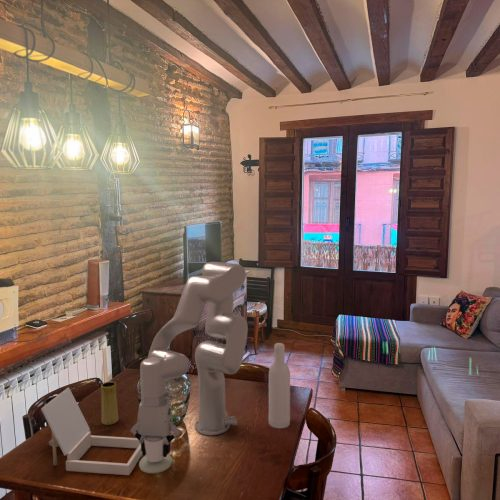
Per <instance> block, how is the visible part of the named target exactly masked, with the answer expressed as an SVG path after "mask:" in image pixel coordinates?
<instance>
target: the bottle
mask: <svg viewBox="0 0 500 500" xmlns="http://www.w3.org/2000/svg"><path fill="white" fill-rule="evenodd" d="M285 347H286V346H285V344H284V343H282V342H276V343H274V346H273V350H274V351H273V352H274V353H273V354H274V356H273V357H274V362H273V363H272V364H271V365H270V367H269V370H268V416H267V417H268V418H267V419H268V424H269V426H270V427H272V428H274V429H280V430H281V429H285V428H288V427H289V426H290V424H291V370H290V368H289V366H288V364H286V363H285V349H286V348H285Z"/></svg>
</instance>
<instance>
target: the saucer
mask: <svg viewBox="0 0 500 500" xmlns="http://www.w3.org/2000/svg"><path fill="white" fill-rule="evenodd" d="M138 463H139V464H138V467H139V469H140V471H141V472H144V473H146V474H160V473H162V472H165V471H166V470H168V469H170V467H171V466H172V464H173V458H172V456H171V454H170V453H168V454H167V456H166V457H164V459H162V460H161V461H158V462H150V461H148V460H147V458H146V455H145V456H143V457H142V458H140V459H139V461H138Z"/></svg>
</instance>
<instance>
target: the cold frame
mask: <svg viewBox="0 0 500 500" xmlns="http://www.w3.org/2000/svg"><path fill="white" fill-rule="evenodd" d="M58 394H59V395H58ZM58 394H57V395H58V396H57V397H55V398H54V399H53V400H51V401H50V402H49V403H48V404H46V405H45V404H44V406H43V407H41V409H40V410H41V412H42V414H43V416H44V419H45V420H46V422H47V424H48V426H49V427H50V429H51V439H52V446H51V447H52V458H53V459H52V462H53V466H54V467H55V466H57V465H58V457H57V447H56V440H57V442H58V444H59V448H60V450H61V451H62V453H63V456H67V457H66V458H67V459H66V460H65V472H77V473H78V472H79V473H91V474H93V473H94V474H106V475H108V474H109V475H121V476H130V475H131V473H132V471H133V470H134V468H135V467H136V465H137V464H138V463H139V462H140V460H141V457H142V456H143V454H142V451H141V443H140V442H139V440H138V439H137V438H136V437H124V436H123V437H121V436H107V435H94V434H93V435H92V433H91V432H92V431H91V429H90V426H89V425H88V422H87V421H86V418H85V416H84V414H83V412H82V411H81V409H80V407H79V404H78V402H77V401H76V398H75V396H74V395H73V393H72V391H71V389H70V387H67V388H65V389H64V390H63V391H62V392H60V393H58ZM92 446H95V447H109V448H124V449H125V448H127V449H135V451H134V452H133V454H132V455H131V456H130V458H129V460H128V461H127V463H124V462H123V463H122V462H108V461H96V460H95V461H94V460H80V459H81V458H82V457H83V456H84V455H85V453H87V451H88V450H89V449H90V448H91V447H92Z"/></svg>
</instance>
